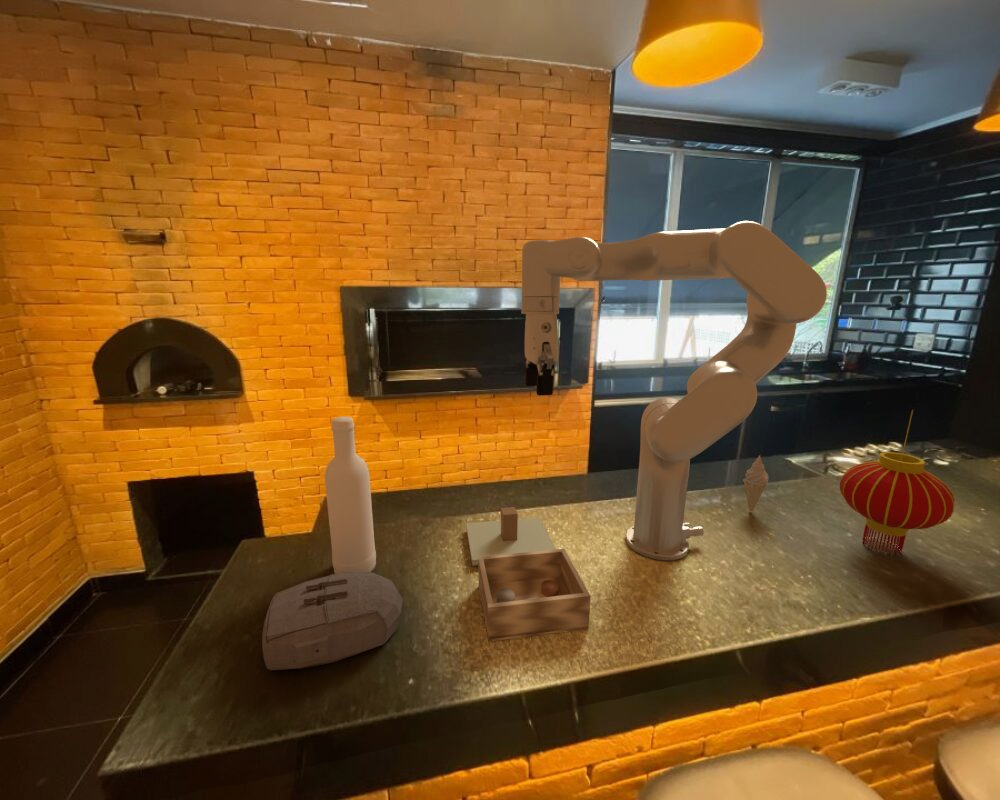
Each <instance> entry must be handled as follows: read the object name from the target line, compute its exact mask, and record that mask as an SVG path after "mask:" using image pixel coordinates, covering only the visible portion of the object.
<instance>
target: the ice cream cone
mask: <svg viewBox="0 0 1000 800" xmlns="http://www.w3.org/2000/svg"><path fill="white" fill-rule="evenodd" d="M744 476H745V478H743V479H742V480H743V483H744V484H743V485H744V488H745V489H744V490H745V495H746V501H747V506H748V511H749V510H750V511H752V512H754V510H755V507H756V506H757V505H758V502H759V500H760V498H761V496H762V495H763V493H764V490H765V489H766V487H767V486H768V482H769V474H768V472H766V471H765V465H764V464H763V460H762V458H761V454H759V455H758V457H757V458H756V459H755V461H754V462H753V463H752V464H751V468H749V469H748V470H746V473H745V474H744Z"/></svg>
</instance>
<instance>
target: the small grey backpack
mask: <svg viewBox="0 0 1000 800" xmlns="http://www.w3.org/2000/svg"><path fill="white" fill-rule="evenodd" d="M403 601H404V599H403V597H402V596H401V594H400V592H399V591H398V589H397V587H396V585H395V584H394V582H393V581H392V580H391V579H389V578H387V577H384V576H383V575H380V574H377V573H375V572H373V571H371V572H348V573H339V574H334V573H332V574H330V575H327V576H322V577H318V578H314V579H309V580H305V581H303V582H301V583H299V584H296V585H293V586H290V587H288V588H285V589H283V590H280V591H278V592H275V593H274V595H273V596H272V598H271V600H270V603H269V607H268V609H267V612H266V616H265V617H264V621H263V629H262V634H261V635H262V637H261V640H262V641H261V643H262V644H261V645H262V654H263V660H264V664H265V667H266V669H268V670H269V671H280V670H283V671H284V670H295V669H298V670H300V669H307V668H311V667H317V666H321V665H326V664H332V663H336V662H338V661H341V660H344V659H347V658H349V657H353V656H356V655H359V654H361V653H364V652H368V651H370V650H372V649H375V648H378V647H380V646H383V645H385V644H386V643H387V641H389V639H390V638H391V637H392V636H393V634H394V633H395V632H396V631H397V627H398V622H399V619H400V617H401V613H402V607H403Z"/></svg>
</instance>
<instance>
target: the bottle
mask: <svg viewBox="0 0 1000 800" xmlns="http://www.w3.org/2000/svg"><path fill="white" fill-rule="evenodd" d="M330 430H331V431H332V437H333V438H332V439H333V449H334V450H333V451H334V457H333V458H332V459H331V460H330V461H329V462H328V463H327V465H326V468H325V471H324V472H325V473H324V485H325V492H326V493H325V495H326V503H327V514H328V525H329V532H330V533H329V534H330V544H331V555H332V556H331V560H332V561H331V562H332V568H333V574H339V573H348V572H373V570H374V569H375V568H376V564H377V560H376V559H377V553H376V548H375V547H376V545H375V534H374V533H375V532H374V519H373V518H374V517H373V516H374V515H373V508H372V507H373V506H372V505H373V503H372V492H371V490H372V489H371V481H370V480H371V479H370V470H369V468H368V465H367V463H366V461H365V459H364V458H362V457H361V456H360V455H358V454H357V452H356V451H357V450H356V442H355V441H356V439H355V438H356V437H355V423H354V419H353V418H352V417H351V416H338V417H335V418H333V419H331V429H330Z"/></svg>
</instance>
